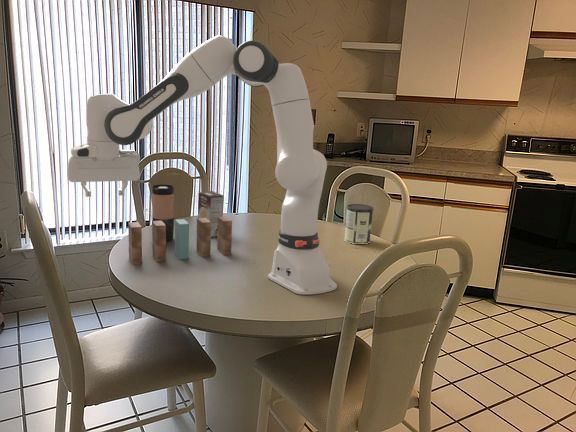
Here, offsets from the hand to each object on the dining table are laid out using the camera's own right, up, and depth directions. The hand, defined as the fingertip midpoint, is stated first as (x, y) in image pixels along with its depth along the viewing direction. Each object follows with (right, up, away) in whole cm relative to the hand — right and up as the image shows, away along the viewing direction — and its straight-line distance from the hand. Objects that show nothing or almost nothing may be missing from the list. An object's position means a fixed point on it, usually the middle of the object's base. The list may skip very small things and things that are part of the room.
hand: (105, 195), depth 144 cm
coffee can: (+83, -16, +45) cm, 96 cm away
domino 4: (+33, -19, +23) cm, 44 cm away
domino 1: (+13, -20, +13) cm, 27 cm away
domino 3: (+26, -19, +19) cm, 38 cm away
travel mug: (+9, -15, +32) cm, 37 cm away
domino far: (+6, -21, +9) cm, 23 cm away
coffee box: (+25, -13, +44) cm, 52 cm away
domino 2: (+20, -20, +16) cm, 32 cm away
